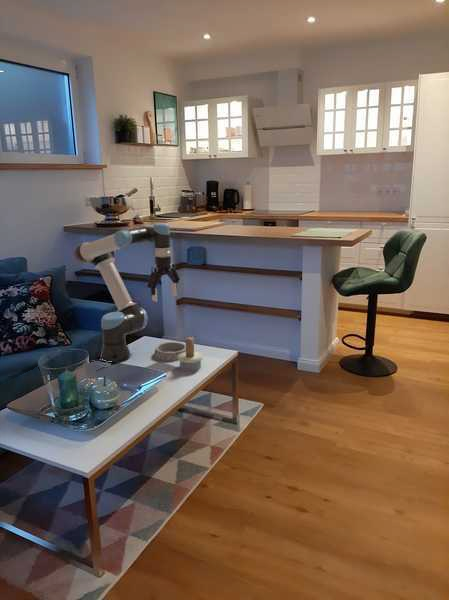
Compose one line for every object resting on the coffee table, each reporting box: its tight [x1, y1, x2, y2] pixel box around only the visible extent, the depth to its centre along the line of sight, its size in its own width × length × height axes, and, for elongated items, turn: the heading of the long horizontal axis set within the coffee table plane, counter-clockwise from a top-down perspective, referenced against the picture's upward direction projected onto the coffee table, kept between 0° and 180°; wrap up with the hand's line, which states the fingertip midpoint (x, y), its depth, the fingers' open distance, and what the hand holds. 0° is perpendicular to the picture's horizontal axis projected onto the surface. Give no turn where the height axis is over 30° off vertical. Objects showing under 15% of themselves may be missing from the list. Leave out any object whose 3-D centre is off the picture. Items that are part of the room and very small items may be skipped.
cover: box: [177, 336, 204, 363], centre depth 232 cm, size 12×12×10 cm
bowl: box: [179, 360, 202, 372], centre depth 234 cm, size 10×10×6 cm
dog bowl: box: [153, 341, 186, 362], centre depth 251 cm, size 17×18×5 cm
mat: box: [145, 360, 179, 374], centre depth 234 cm, size 13×13×1 cm
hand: (164, 298), depth 238 cm, fingers open, 13 cm apart
